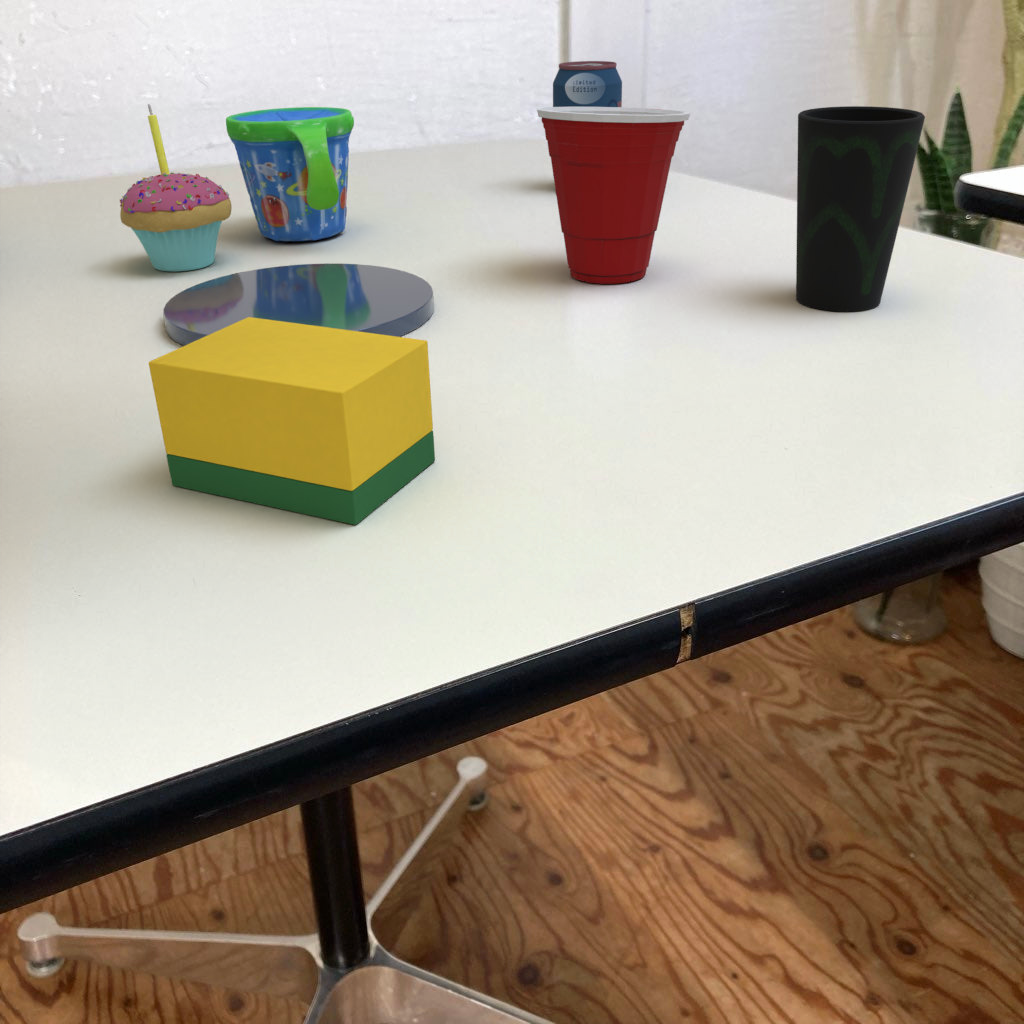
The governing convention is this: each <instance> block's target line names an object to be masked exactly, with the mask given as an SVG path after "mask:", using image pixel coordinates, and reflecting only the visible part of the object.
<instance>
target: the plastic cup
mask: <svg viewBox="0 0 1024 1024" xmlns="http://www.w3.org/2000/svg"><path fill="white" fill-rule="evenodd" d="M536 112H537V116H538V117H539V118H541V123H542V127H543V129H544V134H545V140H546V141H547V149H548V154H549V157H550V161H551V169H552V176H553V181H554V189H555V195H556V196H555V197H556V202H557V209H558V215H559V221H560V222H559V223H560V229H561V233H563V239H564V240H563V241H564V248H565V254H566V261H567V268H568V269H569V272H570V277H571V276H572V278H573V277H574V278H573V279H575V280H577V281H580V280H581V281H580V282H584V281H585V282H584V283H588V284H600V285H611V284H613V285H614V284H616V285H617V284H625V283H631V282H635V281H638V280H641V279H643V278H644V277H645V276H646V275H647V269H648V268H649V266H650V261H651V255H652V249H653V244H654V241H655V240H654V239H655V234H656V231H657V230H658V225H659V221H660V216H661V211H662V208H663V207H662V206H663V201H664V196H665V194H666V193H665V192H666V188H667V182H668V177H669V173H670V167H671V163H672V158H673V157H674V155H675V150H676V146H677V142H678V141H679V140H680V139H679V137H680V135H681V134H680V133H681V131H683V126H685V121H688V120H689V118H690V117H691V116H690V115H691V113H690V112H688V111H683V110H682V111H681V110H673V109H661V108H659V109H658V108H645V107H623V106H622V107H553V106H544V107H536ZM630 281H631V282H630Z"/></svg>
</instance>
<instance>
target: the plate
mask: <svg viewBox="0 0 1024 1024" xmlns="http://www.w3.org/2000/svg"><path fill="white" fill-rule="evenodd" d="M434 303H435V299H434V290H433V287H432V286H431V284H430V283H429V282H428V281H426V280H425V279H424V278H423V277H420V276H418V275H416V274H414V273H411V272H408V271H404V270H400V269H398V268H397V269H396V268H392V267H385V266H380V265H372V264H359V263H357V264H356V263H305V264H303V263H302V264H290V265H281V266H272V267H264V268H258V269H252V270H246V271H241V272H237V273H236V272H235V273H232V274H228V275H223V276H219V277H216V278H213V279H209V280H206V281H203V282H201V283H197V284H195V285H193V286H190V287H187V288H185V289H183V290H182V291H180V292H177V294H175V295H174V296H173V297H170V299H169V300H168V301H167V302H166V303H165V305H164V307H163V309H162V316H163V319H164V320H163V321H164V326H165V332H166V333H167V335H168V336H169V338H171V340H173V341H174V342H175V343H178V344H179V345H181V346H182V347H183V346H185V345H188V344H190V343H192V342H194V341H196V340H199V339H201V338H203V337H205V336H208V335H210V334H212V333H214V332H216V331H219V330H221V329H223V328H225V327H228V326H230V325H232V324H234V323H236V322H239V321H241V320H243V319H245V318H248V317H252V318H260V319H268V320H275V321H283V322H290V323H298V324H306V325H313V326H321V327H328V328H336V329H343V330H351V331H359V332H366V333H374V334H381V335H389V336H397V337H403V336H404V335H407V334H408V333H410V332H412V331H414V330H417V329H418V328H419V327H421V326H423V325H424V324H425V323H426V322H428V320H430V318H431V317H432V315H433V314H434V310H435V304H434Z"/></svg>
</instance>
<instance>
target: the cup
mask: <svg viewBox="0 0 1024 1024" xmlns="http://www.w3.org/2000/svg"><path fill="white" fill-rule="evenodd" d="M925 120H926V116H925V115H924V113H923V112H921V111H918V110H915V109H914V110H913V109H907V108H901V107H889V106H867V105H866V106H863V105H859V106H858V105H857V106H856V105H855V106H853V105H852V106H851V105H849V106H845V105H844V106H826V107H815V108H808V109H805V110H802V111H800V112H799V113H798V114H797V170H796V171H797V175H796V177H797V178H796V179H797V180H796V181H797V182H796V184H797V185H796V259H795V261H796V265H795V266H796V267H795V268H796V269H795V270H796V271H795V274H796V275H795V278H796V279H795V283H796V284H795V300H796V301H797V302H798V303H799V304H801V305H803V306H805V307H808V308H811V309H815V310H822V311H826V312H827V311H828V312H841V313H849V312H852V313H853V312H863V311H869V310H871V309H875V308H876V307H879V306H880V304H881V301H882V298H883V293H884V289H885V284H886V281H887V278H888V277H887V276H888V272H889V268H890V264H891V260H892V256H893V252H894V248H895V243H896V239H897V236H898V235H897V234H898V230H899V226H900V222H901V218H902V214H903V211H904V207H905V202H906V197H907V194H908V189H909V186H910V182H911V178H912V174H913V173H912V172H913V170H914V164H915V160H916V157H917V153H918V148H919V145H920V140H921V136H922V132H923V128H924V124H925Z"/></svg>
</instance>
